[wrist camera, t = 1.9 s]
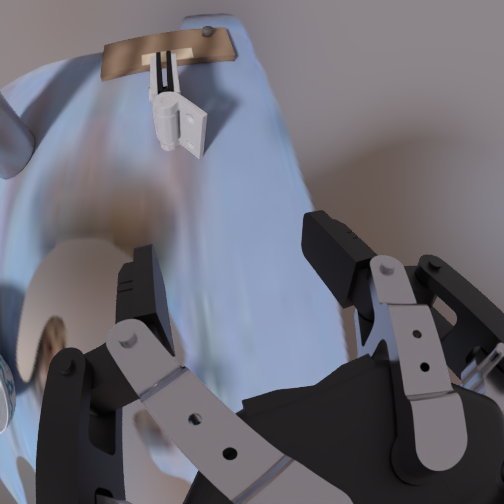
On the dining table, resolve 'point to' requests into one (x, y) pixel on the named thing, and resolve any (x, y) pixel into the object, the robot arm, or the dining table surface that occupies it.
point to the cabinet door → (180, 42)
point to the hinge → (175, 110)
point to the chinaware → (6, 395)
